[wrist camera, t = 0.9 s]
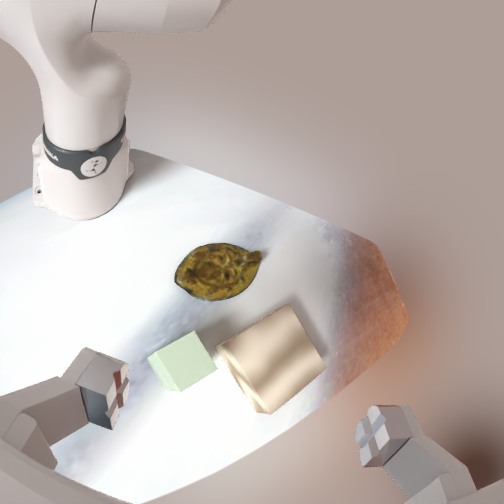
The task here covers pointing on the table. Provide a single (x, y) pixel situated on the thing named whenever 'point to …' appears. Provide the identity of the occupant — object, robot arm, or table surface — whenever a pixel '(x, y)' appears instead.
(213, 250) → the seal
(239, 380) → the plinth
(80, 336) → the table surface
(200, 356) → the green block
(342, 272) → the table surface
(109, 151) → the robot arm
